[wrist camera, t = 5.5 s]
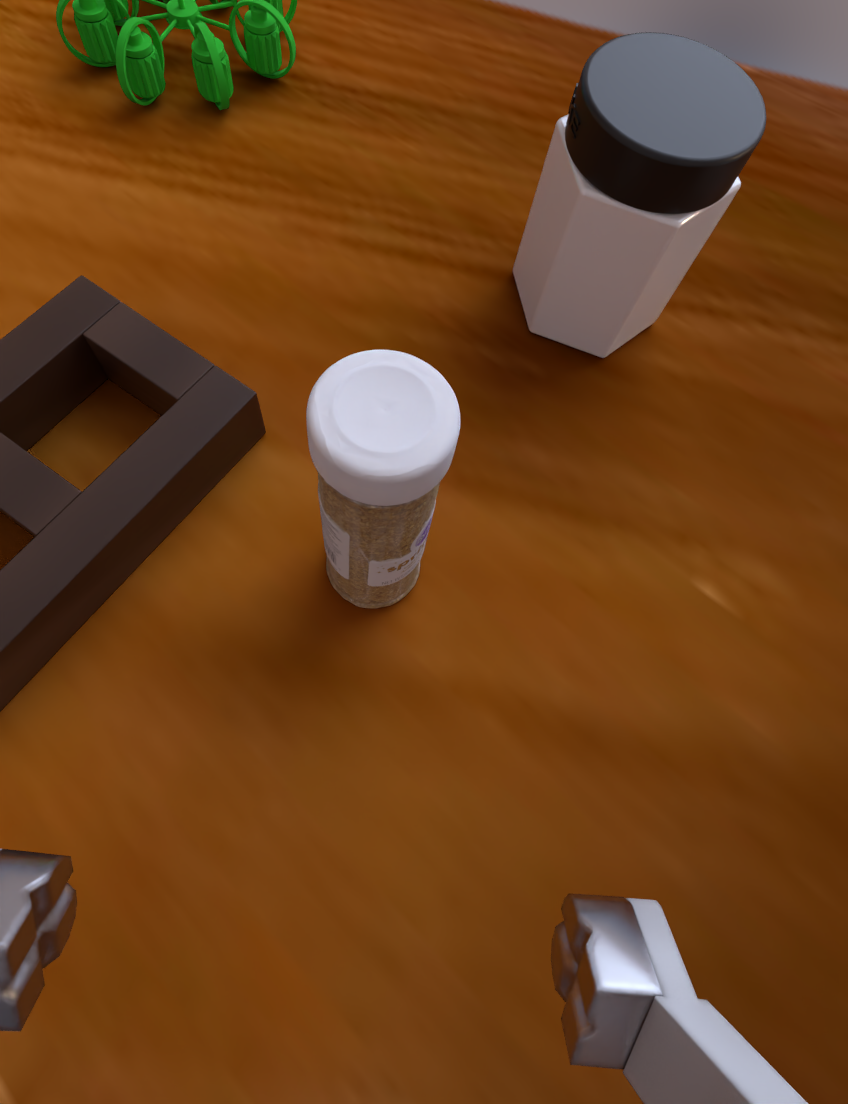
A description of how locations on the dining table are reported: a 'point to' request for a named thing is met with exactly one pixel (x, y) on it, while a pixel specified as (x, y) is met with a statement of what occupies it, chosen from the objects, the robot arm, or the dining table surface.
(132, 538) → the holder
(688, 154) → the jar
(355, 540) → the sprinkles bottle
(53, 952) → the robot arm
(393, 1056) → the dining table surface
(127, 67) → the chandelier
